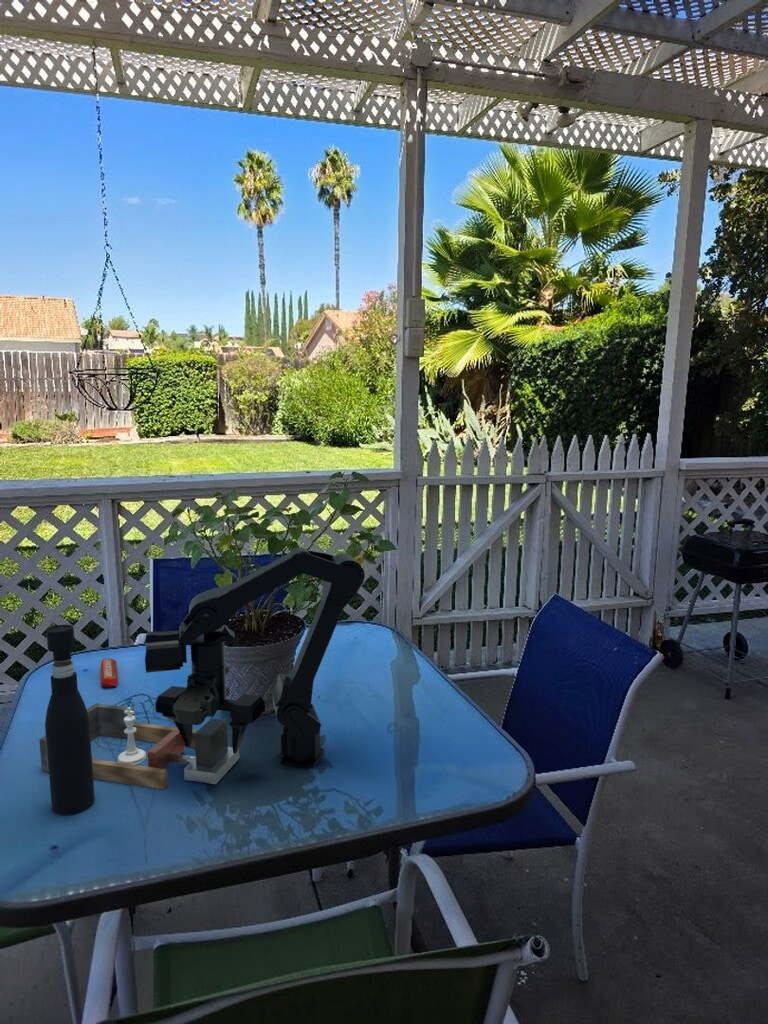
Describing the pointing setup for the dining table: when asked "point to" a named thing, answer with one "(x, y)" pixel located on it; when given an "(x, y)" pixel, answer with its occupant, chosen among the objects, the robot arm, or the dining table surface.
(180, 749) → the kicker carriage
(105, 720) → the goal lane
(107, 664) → the candy bar
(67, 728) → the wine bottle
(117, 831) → the dining table surface
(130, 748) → the chess piece
